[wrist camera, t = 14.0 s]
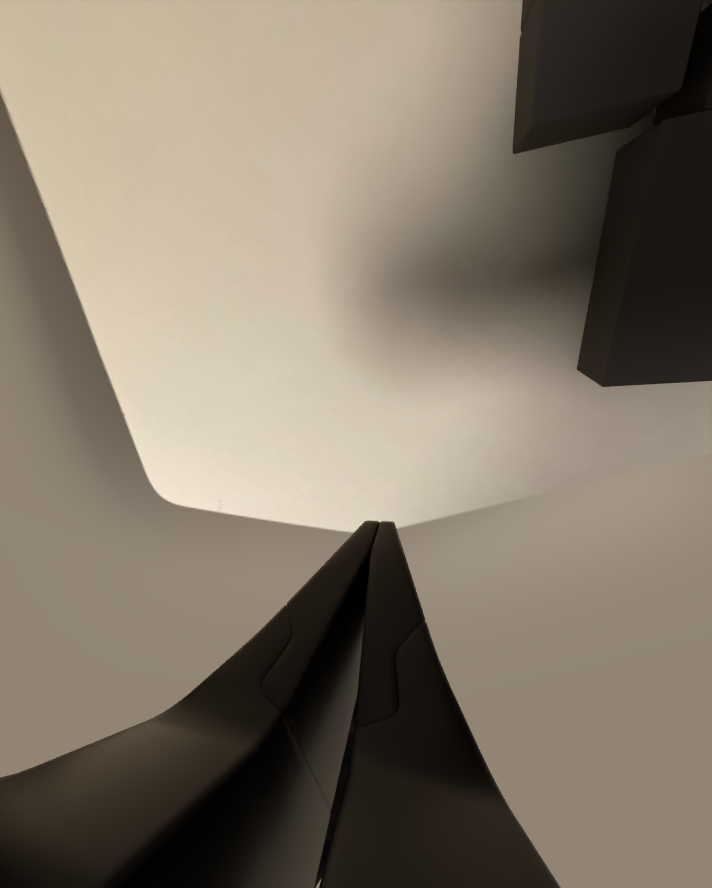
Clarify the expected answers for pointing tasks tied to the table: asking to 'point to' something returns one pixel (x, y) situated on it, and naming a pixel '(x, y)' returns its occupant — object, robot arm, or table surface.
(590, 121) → the large black pad
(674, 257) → the small black block
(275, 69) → the table surface
